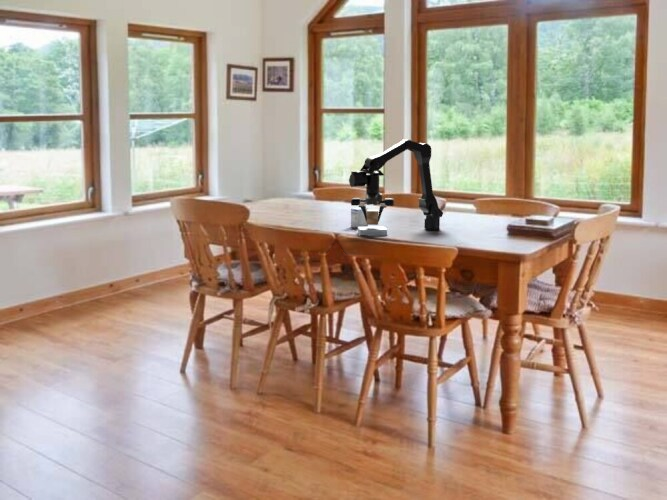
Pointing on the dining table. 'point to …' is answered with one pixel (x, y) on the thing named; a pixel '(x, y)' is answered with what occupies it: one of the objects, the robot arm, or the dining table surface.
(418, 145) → the robot arm
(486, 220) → the dining table surface
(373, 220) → the walnut block
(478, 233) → the dining table surface
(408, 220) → the dining table surface
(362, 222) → the medicine box
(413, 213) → the dining table surface
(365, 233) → the book
